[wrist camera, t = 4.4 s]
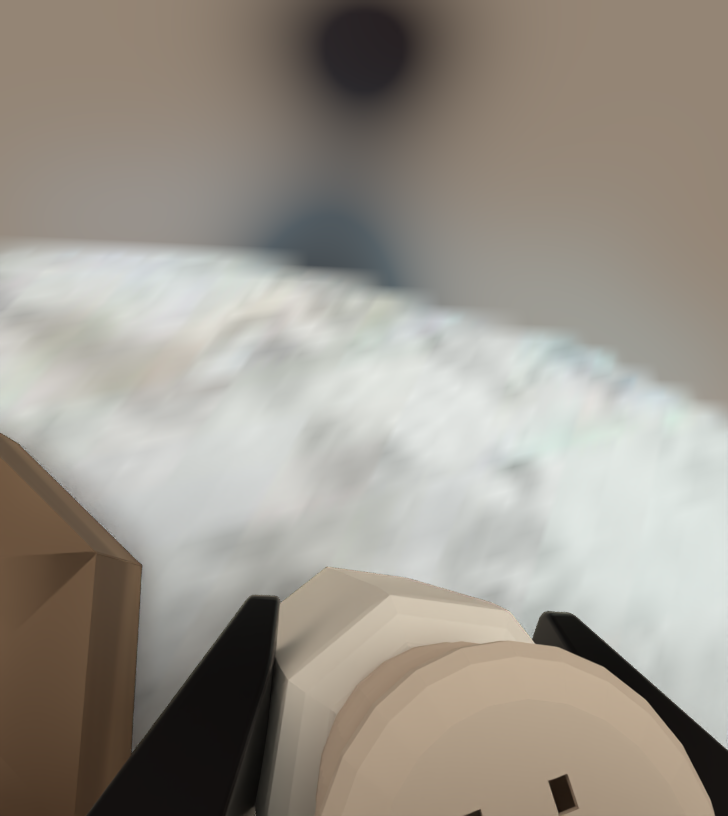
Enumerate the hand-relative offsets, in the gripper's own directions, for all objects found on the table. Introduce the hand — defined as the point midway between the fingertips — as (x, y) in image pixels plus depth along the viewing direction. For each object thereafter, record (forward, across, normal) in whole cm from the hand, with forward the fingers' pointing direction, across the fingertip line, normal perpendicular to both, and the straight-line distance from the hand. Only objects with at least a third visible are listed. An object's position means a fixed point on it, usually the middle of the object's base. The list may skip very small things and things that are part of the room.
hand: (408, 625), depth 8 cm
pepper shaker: (+4, 0, +6) cm, 7 cm away
